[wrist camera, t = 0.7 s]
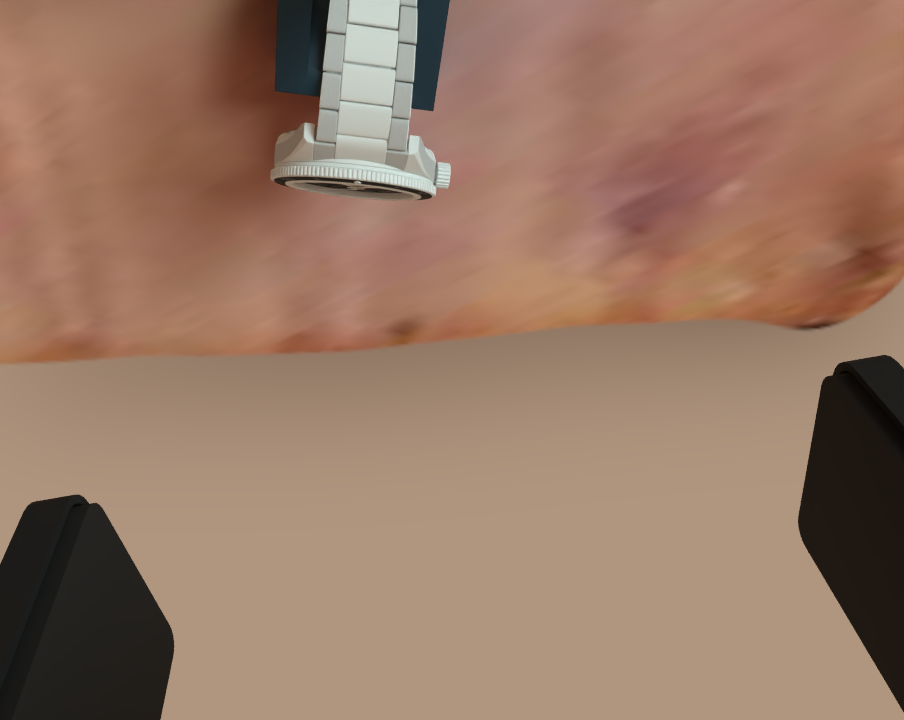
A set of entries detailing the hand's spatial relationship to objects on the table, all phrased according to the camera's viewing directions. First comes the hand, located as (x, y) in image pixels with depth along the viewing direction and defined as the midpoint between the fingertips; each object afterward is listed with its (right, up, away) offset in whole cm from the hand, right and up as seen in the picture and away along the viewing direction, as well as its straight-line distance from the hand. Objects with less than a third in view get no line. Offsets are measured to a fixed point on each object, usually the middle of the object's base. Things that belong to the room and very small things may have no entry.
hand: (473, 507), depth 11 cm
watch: (-4, +15, +19) cm, 24 cm away
